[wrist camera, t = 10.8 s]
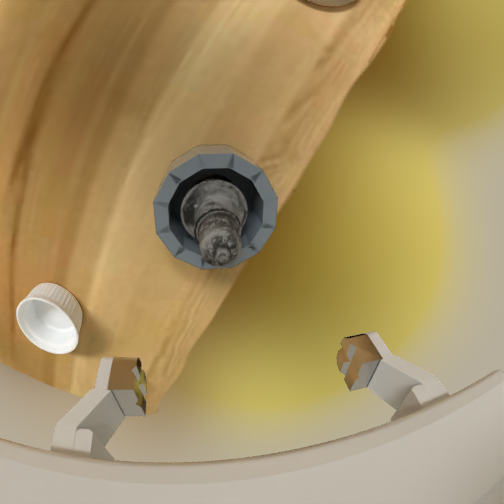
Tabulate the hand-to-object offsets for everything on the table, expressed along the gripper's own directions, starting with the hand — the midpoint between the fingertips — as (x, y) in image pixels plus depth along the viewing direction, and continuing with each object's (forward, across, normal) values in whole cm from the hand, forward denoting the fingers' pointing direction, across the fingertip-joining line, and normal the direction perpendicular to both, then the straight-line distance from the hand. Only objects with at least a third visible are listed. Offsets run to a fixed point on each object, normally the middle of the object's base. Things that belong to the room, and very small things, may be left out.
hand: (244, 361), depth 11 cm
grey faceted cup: (+21, 0, 0) cm, 21 cm away
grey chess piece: (+20, 0, 0) cm, 21 cm away
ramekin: (+21, +21, +13) cm, 33 cm away
